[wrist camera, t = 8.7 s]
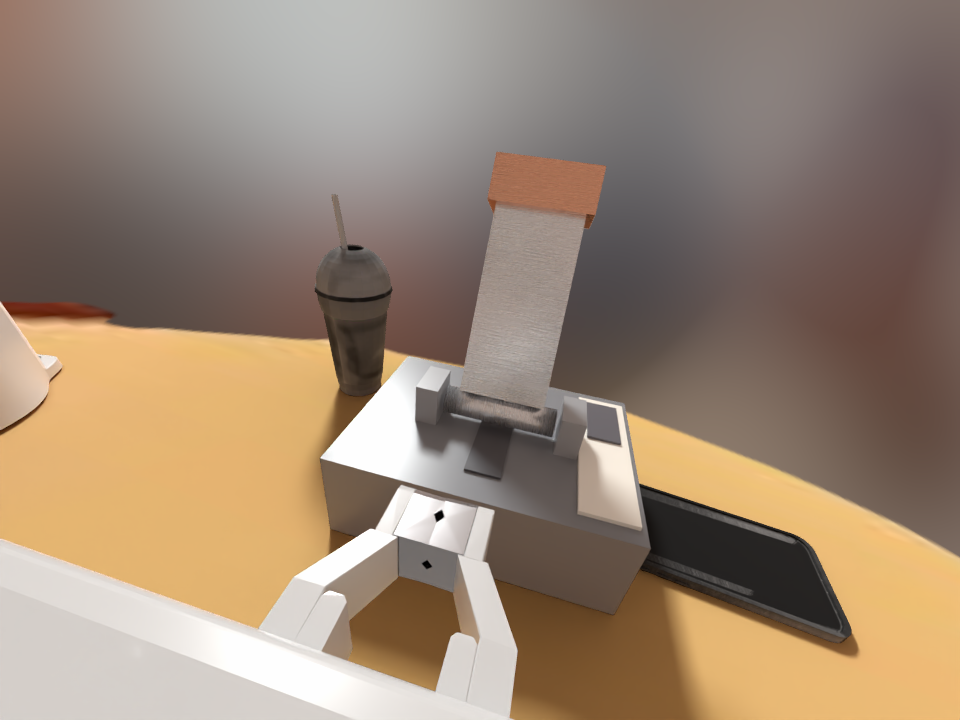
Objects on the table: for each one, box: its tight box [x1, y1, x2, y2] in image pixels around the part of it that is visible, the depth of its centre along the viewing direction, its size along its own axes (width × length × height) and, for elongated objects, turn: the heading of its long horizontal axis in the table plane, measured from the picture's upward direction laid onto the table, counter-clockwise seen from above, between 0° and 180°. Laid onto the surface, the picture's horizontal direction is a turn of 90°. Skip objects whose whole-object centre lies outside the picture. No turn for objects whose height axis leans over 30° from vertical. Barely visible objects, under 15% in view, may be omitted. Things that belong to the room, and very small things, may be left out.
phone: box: [639, 484, 852, 643], centre depth 28 cm, size 8×1×15 cm
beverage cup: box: [315, 194, 392, 396], centre depth 37 cm, size 7×7×20 cm
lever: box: [443, 152, 606, 437], centre depth 26 cm, size 8×3×18 cm, turn 77°
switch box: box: [320, 356, 651, 615], centre depth 29 cm, size 20×14×10 cm
